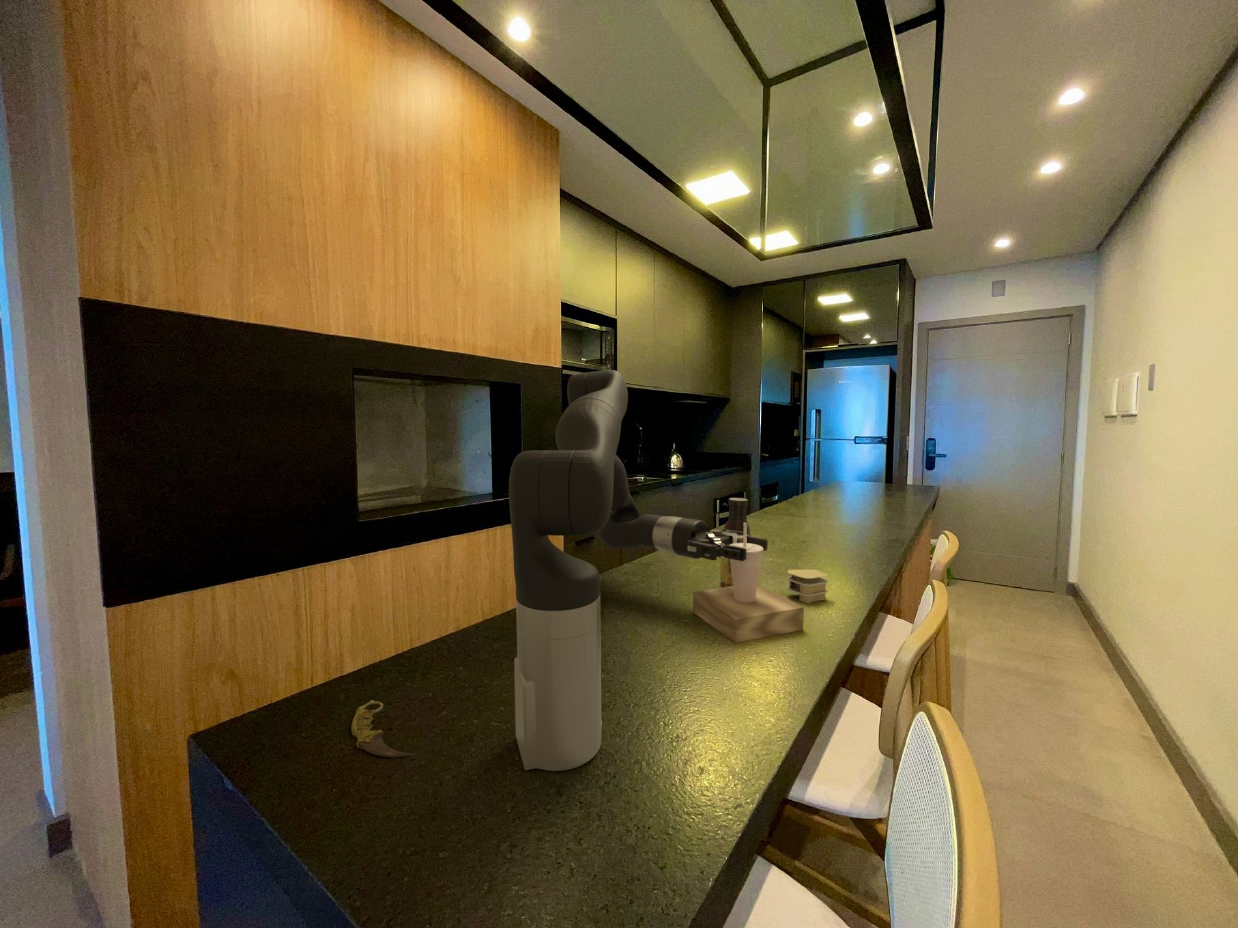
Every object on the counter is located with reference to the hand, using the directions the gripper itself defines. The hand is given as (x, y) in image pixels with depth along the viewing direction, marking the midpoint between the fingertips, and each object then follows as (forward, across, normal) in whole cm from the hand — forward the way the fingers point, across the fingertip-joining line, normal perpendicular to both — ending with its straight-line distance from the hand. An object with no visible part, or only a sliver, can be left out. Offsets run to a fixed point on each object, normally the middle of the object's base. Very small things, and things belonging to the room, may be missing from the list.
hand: (756, 549), depth 86 cm
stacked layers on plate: (+2, +19, +14) cm, 24 cm away
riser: (-2, 0, +14) cm, 14 cm away
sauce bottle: (-11, +14, +14) cm, 23 cm away
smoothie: (-2, 0, +10) cm, 10 cm away
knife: (-20, -58, +14) cm, 63 cm away
